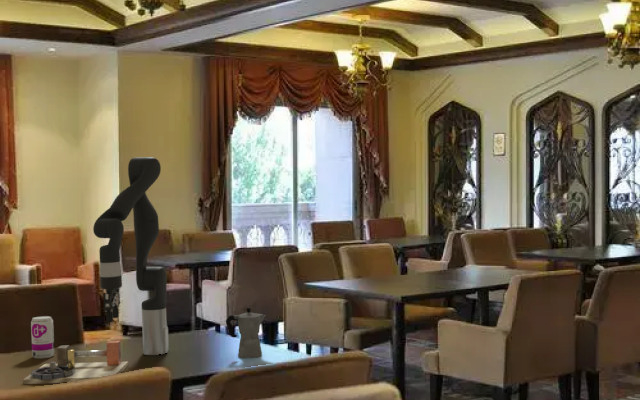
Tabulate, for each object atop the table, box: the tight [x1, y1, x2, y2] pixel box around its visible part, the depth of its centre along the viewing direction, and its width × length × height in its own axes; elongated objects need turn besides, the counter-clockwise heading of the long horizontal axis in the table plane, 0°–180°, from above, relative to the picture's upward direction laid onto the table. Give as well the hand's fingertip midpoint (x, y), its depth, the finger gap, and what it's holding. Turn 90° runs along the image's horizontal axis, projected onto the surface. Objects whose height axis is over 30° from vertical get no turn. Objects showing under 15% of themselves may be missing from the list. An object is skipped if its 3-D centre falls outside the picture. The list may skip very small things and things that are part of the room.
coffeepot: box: [225, 307, 267, 359], centre depth 331 cm, size 15×9×18 cm, turn 110°
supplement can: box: [30, 315, 55, 359], centre depth 341 cm, size 8×8×15 cm
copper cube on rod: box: [74, 340, 122, 365], centre depth 316 cm, size 18×4×8 cm, turn 90°
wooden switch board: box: [22, 344, 129, 385], centre depth 308 cm, size 30×24×8 cm
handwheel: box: [30, 349, 76, 380], centre depth 302 cm, size 14×14×8 cm
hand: (112, 319), depth 316 cm, fingers open, 8 cm apart
